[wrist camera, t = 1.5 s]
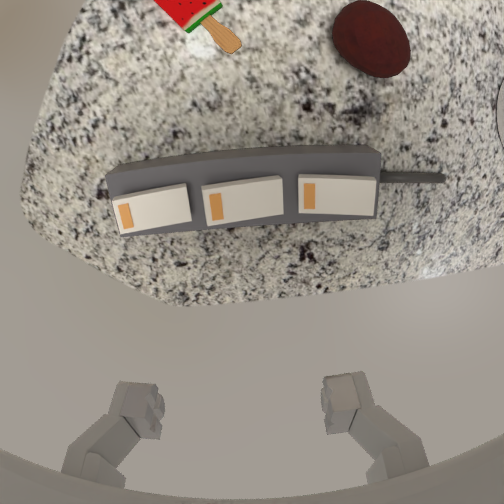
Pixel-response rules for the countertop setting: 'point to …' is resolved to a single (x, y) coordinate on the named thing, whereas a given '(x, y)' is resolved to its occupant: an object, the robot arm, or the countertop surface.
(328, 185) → the rocker
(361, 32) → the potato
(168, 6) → the popsicle
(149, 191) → the block
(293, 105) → the countertop surface
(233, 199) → the rocker
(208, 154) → the power strip
